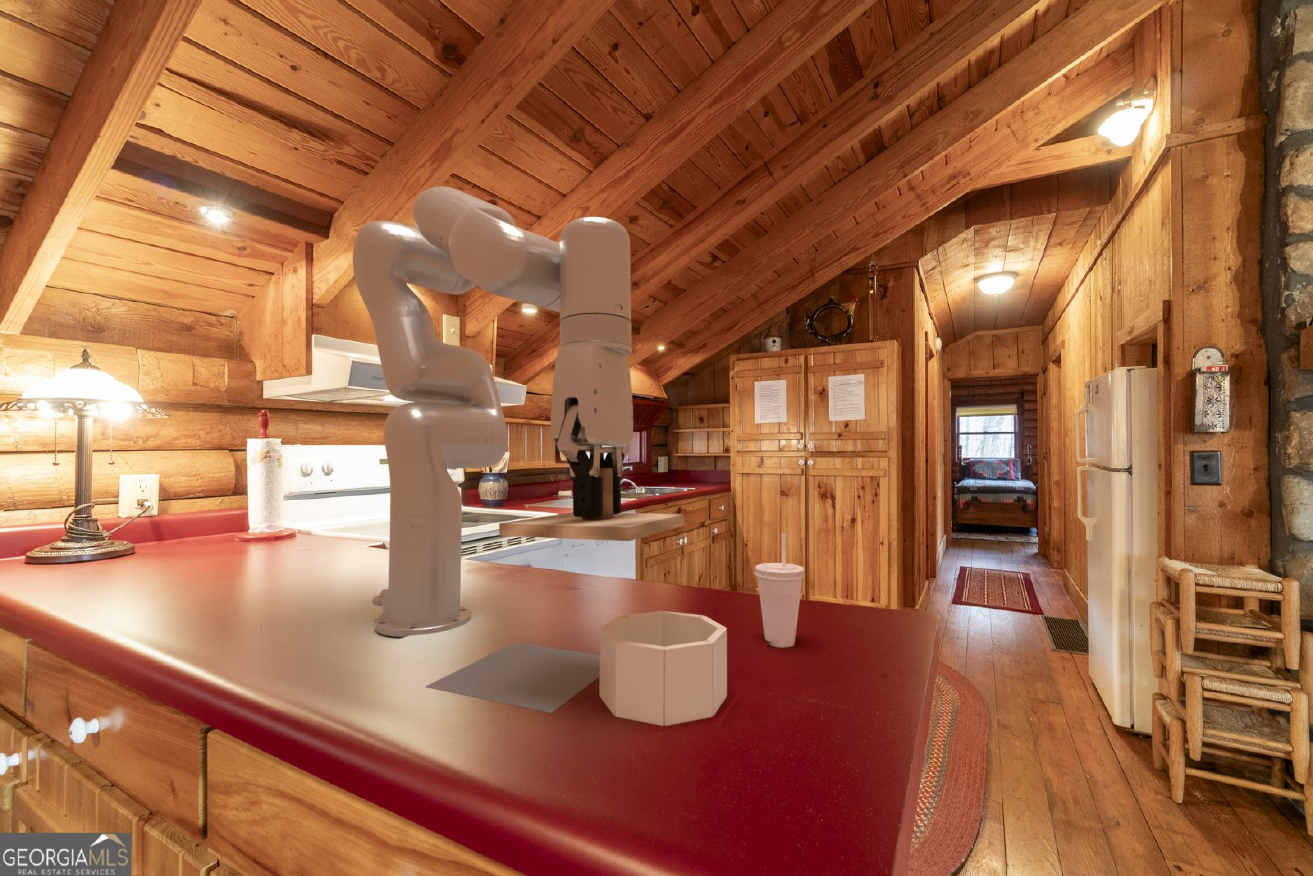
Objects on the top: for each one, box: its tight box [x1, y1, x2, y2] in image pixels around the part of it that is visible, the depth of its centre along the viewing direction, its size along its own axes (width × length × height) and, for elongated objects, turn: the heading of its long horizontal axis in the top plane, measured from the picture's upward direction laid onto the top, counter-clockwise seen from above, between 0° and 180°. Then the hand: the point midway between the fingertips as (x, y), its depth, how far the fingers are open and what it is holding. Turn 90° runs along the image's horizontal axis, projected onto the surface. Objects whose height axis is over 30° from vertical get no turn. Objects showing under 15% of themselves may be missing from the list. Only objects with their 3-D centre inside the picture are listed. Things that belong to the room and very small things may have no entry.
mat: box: [424, 641, 600, 714], centre depth 61 cm, size 15×15×1 cm
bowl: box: [598, 610, 728, 727], centre depth 55 cm, size 12×12×7 cm
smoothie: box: [754, 533, 806, 648], centre depth 72 cm, size 6×6×14 cm
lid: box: [498, 468, 685, 542], centre depth 58 cm, size 14×14×6 cm
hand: (597, 513), depth 58 cm, fingers closed on lid, 3 cm apart
